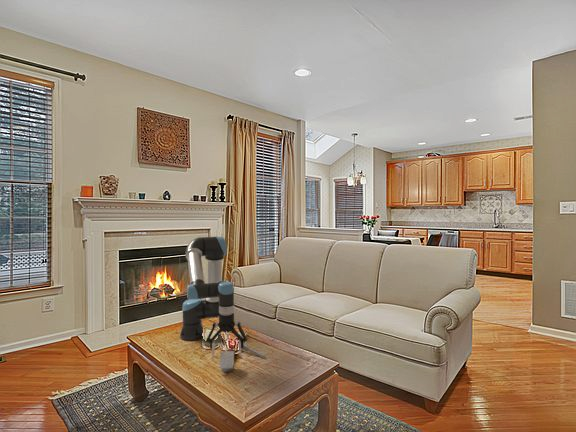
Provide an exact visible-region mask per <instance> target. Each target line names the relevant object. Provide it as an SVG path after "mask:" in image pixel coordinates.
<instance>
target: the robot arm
mask: <svg viewBox="0 0 576 432" xmlns="http://www.w3.org/2000/svg"><path fill="white" fill-rule="evenodd" d="M225 239H226V238H225V237H223V236H217V235H216V236H203V237H200V236H198V237H196V238H194V239H193V240H191V241H189V243H188V244H187V246H186V248H185V252H184V253H185V254H184V255H185V258H186V260H187V265H188V267H187V268H188V275H189V277H188V278H189V284H187V287H186V296H187V299H186V300H185V301H184V302H183V303H182V309H181V311H182V326H181V330H180V333H179V338H180V339H181V340H182V341H196V340H197V341H198V340H200V339H203V337H202V333H203V329H204V330H205V328H204V325H203V323H202V321H203V319H204V320H205V319H213V318H214V319H215V318H218V322H216V321H214V322H213V323H212V327H211V330H210V332H209V333H208V336H207V337H206V340H205V341H206V342H207V343H209V349H211V356H212V357H214V356H215V353H216V351H215V350H216V349H215V347H216V344H215V340H216V338H217V337H218V336H219V335H220V334H221V333H222V332H223V333H232V334H233V335H234V337H236V338H237V340H238V342H239V341H240V342H239V351H238V355H239V356H242V351H241V348H243V346H244V342H247V340H248V336H247V335H246V333H245V331H244V329H243V327H242V324H241V322H240V321H237V322H235V313H234V312H235V286H234V283H233V281H232V282H231V281H225V280H222V262H223V260H224V258H225V256H226V255H227V254H228V251H227V250H228V249H227V243H226V240H225ZM202 257H204V259H205V260H206V261H207V283H206V281H205V276H204V269H203V260H202ZM202 299H203V300H202ZM235 326H236V328H237V329H236V328H235ZM217 327H218V328H219V329H218V330H217V331H216V333H215V334H214V335H213V333H214V331H215V328H217ZM238 331H239V332H238ZM212 335H213V336H212ZM211 336H212V337H211Z"/></svg>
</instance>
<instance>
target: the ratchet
mask: <svg viewBox="0 0 576 432" xmlns="http://www.w3.org/2000/svg"><path fill="white" fill-rule="evenodd" d="M228 351H234V357H235V355H236V349H235V350H230V349H229V350H228ZM233 370H234V367H233V368H221V372H222V373H224V374H227V373H229V374H230V373H232V372H233Z"/></svg>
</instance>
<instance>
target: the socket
mask: <svg viewBox="0 0 576 432" xmlns="http://www.w3.org/2000/svg"><path fill="white" fill-rule="evenodd" d="M219 363H220V364H219V365H220V366H219V367H220V369H222V368H233V369H234V363H235V356H234V351H229V350H227V351H226V350H224V351H223V350H222V351H221V353H220V355H219Z"/></svg>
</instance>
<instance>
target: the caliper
mask: <svg viewBox="0 0 576 432" xmlns="http://www.w3.org/2000/svg"><path fill="white" fill-rule="evenodd" d="M238 342H240V340H238ZM241 350H242V351H245V352H247V351H248V352H250V353H252V354H254V355H255V356H257V357H260V358H261V359H265V360H267V359H268V357H267V356H266V355H265V354H263V353H260V352H259V351H257V350H255V349H252V348H251V347H249V345H246V344H244V346H243V348H241Z"/></svg>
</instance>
